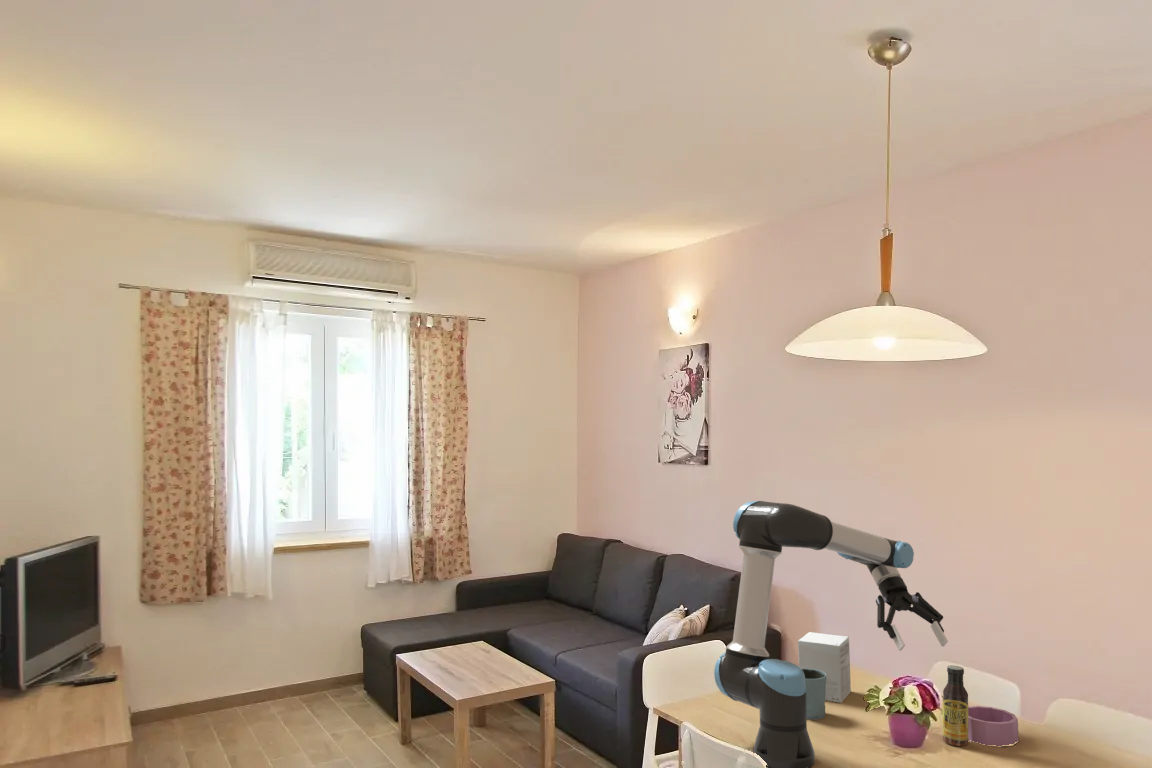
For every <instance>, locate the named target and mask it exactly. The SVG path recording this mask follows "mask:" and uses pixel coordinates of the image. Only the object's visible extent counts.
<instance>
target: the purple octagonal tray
mask: <svg viewBox="0 0 1152 768" xmlns="http://www.w3.org/2000/svg"><path fill="white" fill-rule="evenodd" d="M1019 737H1020V736H1019V721H1018V717H1017V716H1016V715H1015V714H1014V713H1012V712H1009V711H1007V710H1005V709H1001V708H997V707H992V706H982V705H973V706H969V705H968V739H969V740H968V741H970V740H971V741H970V742H972V741H974V742H973V743H975V742H978V743H981V744H980V745H982V744H985V745H984V746H986V745H996V746H1002V745H1009V744H1014V743H1015V742H1017V741H1020V739H1019ZM978 743H977V744H978Z"/></svg>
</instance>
